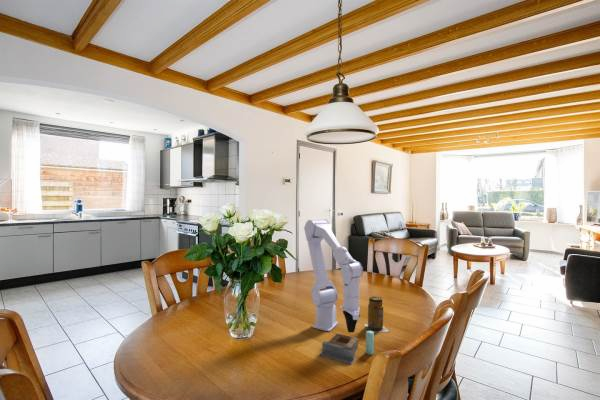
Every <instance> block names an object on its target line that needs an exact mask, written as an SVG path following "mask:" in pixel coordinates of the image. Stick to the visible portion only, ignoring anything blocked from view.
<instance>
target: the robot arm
mask: <svg viewBox="0 0 600 400" xmlns="http://www.w3.org/2000/svg"><path fill="white" fill-rule="evenodd" d="M303 229H304V234H305V238H306V239H305V240H306V241H307V245H308V250H309V255H310V260H311V266H312V269H313V275H314V281H315V282H314V284H313V285H312V286H311V287H310V288H311V301H312V303H313V305H314V306H315V323H314V324H313V325H312V326H311V328H312V329H313V328H314V329H317V330H321V331H326V332H331V331H333V329H334V328H335V327H336V326H337V325H338V324H339V321H337V306H336V302H337V300H338V298H339V296H338V291H337V289H336V287H335V284H334V282H333V281H331V280H329V277H328V272H327V268H326V267H327V266H326V264H325V263H326V261H325V258H324V254H323V250H322V249H323V248H322V245H321V243H322V242H323V240H324V241H325V242H326V243H327V245H328V246H329V247H330V249H331V250H332V256H333V258H334V260H335V261H336V262H337V264H338V265H339V267H340V270H339V271H340V275H341V278H342V284H343V305H340V306H339V308H340V310H341V311H342V314H343V316H344V319H345V324H346V328H347V329H346V330H347V333H354V332H355V330H356V325H357V322H358V321H359V320H360V317H361V314H360V309H361V307H360V278H361V277H362V276H363V274H364V267H363V266H362V263H361V262H360V261H357V260H356V259H354V258H353V256H352V255H351V254H350V252H349V251H348V249H347V247H346V246H342V245H340V243H339V241H338V239H337V237H336V236H335V234H334V232H333V229H332V224H331V223H330V221H329V220H328V219H308V220H307V221H306V222H305V224H304V227H303Z"/></svg>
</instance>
